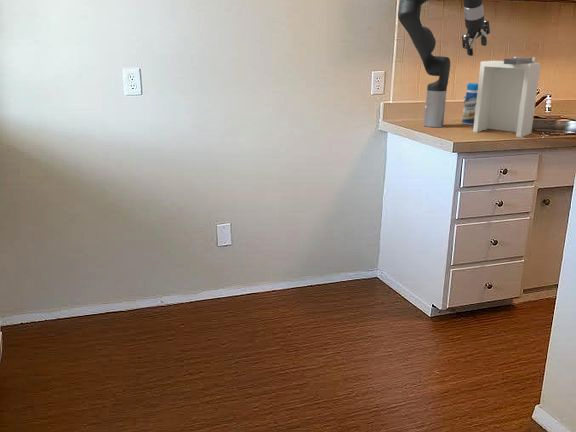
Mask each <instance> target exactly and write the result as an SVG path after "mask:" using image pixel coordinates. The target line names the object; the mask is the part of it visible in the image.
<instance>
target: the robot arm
mask: <svg viewBox="0 0 576 432" xmlns="http://www.w3.org/2000/svg"><path fill="white" fill-rule="evenodd" d="M428 1H429V0H400V2H399V5H398V13H397V17H398V21H399V22H400V24H401V26H402V27H403V28H404V29H405V30H406V32H407V33H408V36H409V37H410V39H411V41H412V43H413V45H414V47H415V49H416V51H417V53H418V54H419V57H420V59H421V61H422V64H423V66H424V71H425V72H426V74H427V75H428V76H432V77H438V79H437V80H436V81H434V82H431V83H428V84H427V87H426V96H425V97H426V99H425V106H424V107H425V108H424V116H423V127H430V128H443V127H444V124H445V123H444V120H445V112H446V111H445V110H446V109H445V108H446V103H447V102H446V101H447V100H446V99H447V91H448V90H447V88H448V86H449V77H450V71H451V59H450V57H449V56H444V55H443V56H441V55H440V56H439V55H434V54H432V53H433V52H434V50H435V48H436V43H437V42H436V38H435V36H434V34H433V31H432V30H431V29H430V28H428V27H427V26H423V25H422V21H421V10H422V5H423V4H425V3H426V2H428ZM439 1H441V0H438V2H439ZM463 14H464V15H463V17H464V23H465V24H464V25H465V28H466V30H467V32H466V34H462V35H461V41H462V42H461V43H462V49H464V50H466V55H468V56H469V57H473V56H474V49H473V46H474V44H475V42H476V41H477V40H478V38H480V43H481V46H483V47H486V46H487V44H488V43H487V42H488V40H487V37H488V35H490V33H491V29H490V21H489V20H486V19H485V12H484V5H483V0H463ZM471 39H472V40H471Z"/></svg>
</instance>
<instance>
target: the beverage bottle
mask: <svg viewBox="0 0 576 432" xmlns="http://www.w3.org/2000/svg"><path fill="white" fill-rule="evenodd" d="M466 90H467V92H466V93H465V96H464V100H463V110H462V111H463V112H462V119H461V123H462V124H463V125H469V126H474V118H475V109H476V100H477V91H478V83H477V82H476V83H474V82H473V83H471V82H470V83H467V85H466Z"/></svg>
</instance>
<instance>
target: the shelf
mask: <svg viewBox="0 0 576 432" xmlns="http://www.w3.org/2000/svg"><path fill="white" fill-rule="evenodd" d="M513 58H518V56H514V57H513ZM532 58H533V59H532V63H526V64H517V65H513V64H504V60H483V61H480V64H479V65H480V66H479V74H478V83H477V84H478V91H477V100H476V109H475V118H474V125H473V127H472V128H473V130H472V132H473V133H479V132H483V131H485V130H494V131H495V130H496V131H503V132H514V133H516V134H515V137H516V138H523V137H525V136H528V135H530V134H532V131H533V125H534V124H533V123H534V117H535V110H536V109H535V108H536V103H537V102H536V100H537V93H538V88H539V87H538V86H539V80H540V71H541V64H542V63H541V62H536V57H535V56H533V57H532ZM482 130H483V131H482Z"/></svg>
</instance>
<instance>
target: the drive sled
mask: <svg viewBox="0 0 576 432" xmlns="http://www.w3.org/2000/svg"><path fill="white" fill-rule="evenodd" d="M532 59H533V57H528V56H527V57H525V56H523V57H522V56H521V57H517V58H514V57H510V58H509V57H508V58H504V59H503V61H504V64H513V65H517V64H526V63H532Z"/></svg>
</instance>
